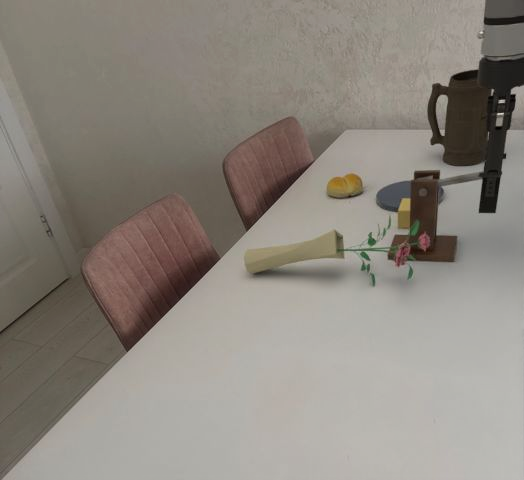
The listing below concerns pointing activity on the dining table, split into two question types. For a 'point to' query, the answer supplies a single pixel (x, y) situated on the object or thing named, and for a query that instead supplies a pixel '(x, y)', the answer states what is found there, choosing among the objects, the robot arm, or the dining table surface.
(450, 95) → the beer stein
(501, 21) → the robot arm
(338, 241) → the flower vase
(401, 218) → the butter pat
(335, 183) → the bread roll
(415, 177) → the brown wooden stand
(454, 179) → the grey t-shaped bar
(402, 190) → the plate
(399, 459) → the dining table surface
